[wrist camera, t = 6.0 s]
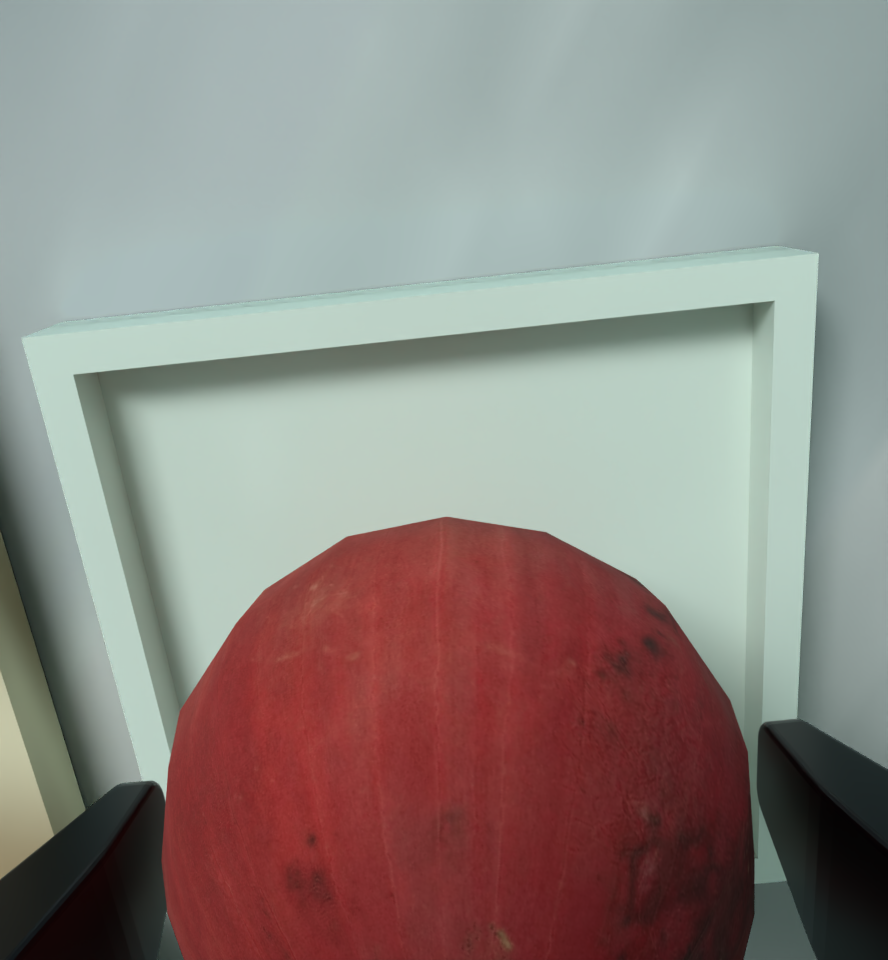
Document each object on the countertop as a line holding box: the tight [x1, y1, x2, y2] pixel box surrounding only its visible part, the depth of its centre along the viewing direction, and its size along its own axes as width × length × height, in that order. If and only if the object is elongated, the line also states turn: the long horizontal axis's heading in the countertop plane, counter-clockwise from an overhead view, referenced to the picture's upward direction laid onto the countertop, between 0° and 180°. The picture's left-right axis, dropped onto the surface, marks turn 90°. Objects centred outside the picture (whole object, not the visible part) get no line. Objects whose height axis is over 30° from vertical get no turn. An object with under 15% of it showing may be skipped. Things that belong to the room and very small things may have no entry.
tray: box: [21, 246, 819, 884], centre depth 12 cm, size 10×10×1 cm
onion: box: [161, 517, 755, 960], centre depth 9 cm, size 6×6×8 cm
